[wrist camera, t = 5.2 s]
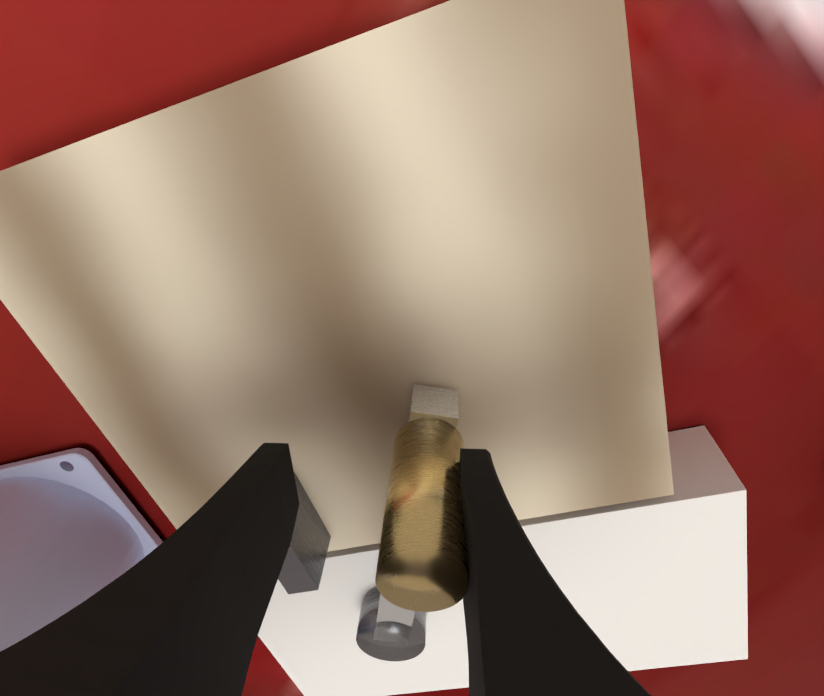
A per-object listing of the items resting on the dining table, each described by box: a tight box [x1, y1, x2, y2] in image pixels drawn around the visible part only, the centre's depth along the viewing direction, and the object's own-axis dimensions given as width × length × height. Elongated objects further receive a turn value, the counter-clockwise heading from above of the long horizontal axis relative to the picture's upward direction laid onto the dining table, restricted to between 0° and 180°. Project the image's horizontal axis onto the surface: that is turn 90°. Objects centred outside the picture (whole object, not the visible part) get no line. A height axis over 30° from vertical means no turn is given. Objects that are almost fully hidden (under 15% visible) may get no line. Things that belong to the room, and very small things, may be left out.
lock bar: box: [356, 384, 468, 661], centre depth 15 cm, size 11×2×5 cm, turn 173°
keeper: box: [278, 472, 331, 594], centre depth 16 cm, size 1×3×2 cm, turn 18°
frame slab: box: [258, 425, 748, 696], centre depth 21 cm, size 18×9×3 cm, turn 108°
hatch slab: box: [0, 0, 674, 552], centre depth 16 cm, size 16×14×3 cm
